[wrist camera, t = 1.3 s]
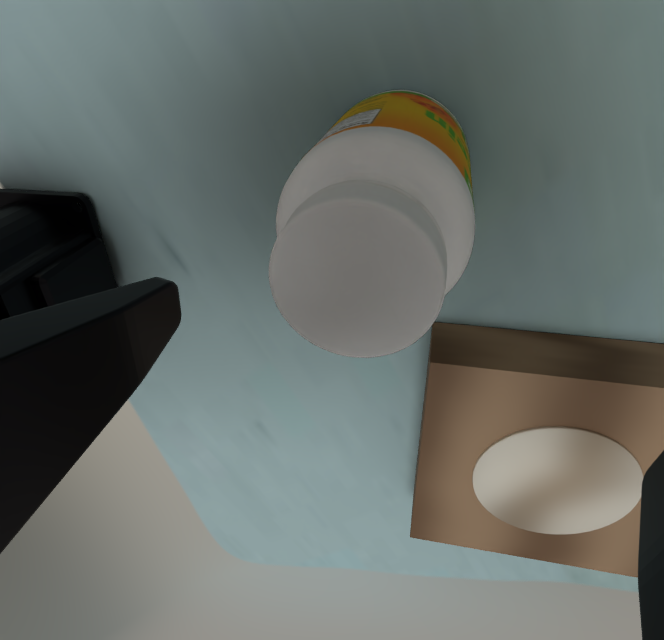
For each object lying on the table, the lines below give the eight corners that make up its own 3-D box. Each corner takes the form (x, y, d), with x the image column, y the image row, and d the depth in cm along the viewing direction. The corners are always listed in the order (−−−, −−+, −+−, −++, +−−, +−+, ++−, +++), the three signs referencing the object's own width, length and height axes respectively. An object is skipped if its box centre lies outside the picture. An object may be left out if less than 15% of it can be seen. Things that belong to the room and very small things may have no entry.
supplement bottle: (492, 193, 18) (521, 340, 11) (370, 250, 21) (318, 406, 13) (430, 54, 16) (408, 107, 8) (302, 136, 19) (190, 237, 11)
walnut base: (413, 491, 29) (409, 540, 26) (432, 321, 22) (429, 365, 19) (635, 526, 26) (655, 584, 24) (730, 350, 20) (772, 403, 17)
